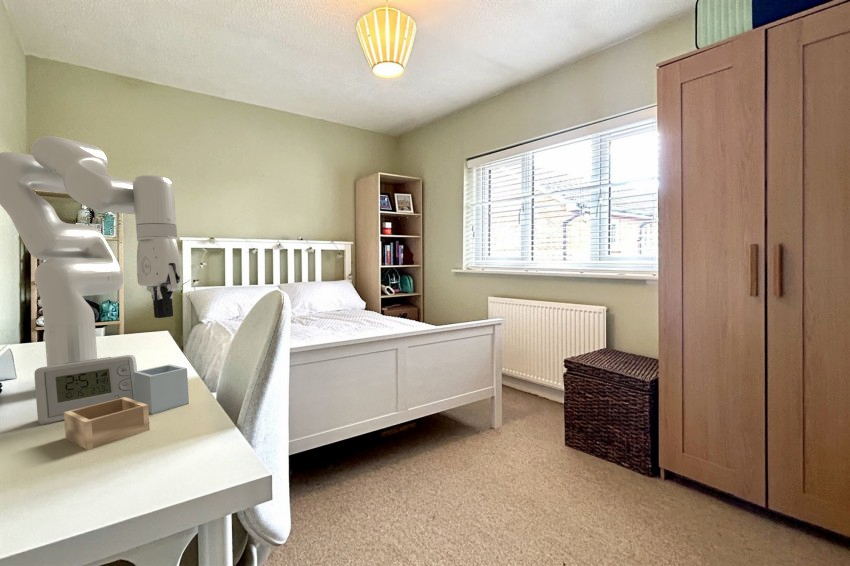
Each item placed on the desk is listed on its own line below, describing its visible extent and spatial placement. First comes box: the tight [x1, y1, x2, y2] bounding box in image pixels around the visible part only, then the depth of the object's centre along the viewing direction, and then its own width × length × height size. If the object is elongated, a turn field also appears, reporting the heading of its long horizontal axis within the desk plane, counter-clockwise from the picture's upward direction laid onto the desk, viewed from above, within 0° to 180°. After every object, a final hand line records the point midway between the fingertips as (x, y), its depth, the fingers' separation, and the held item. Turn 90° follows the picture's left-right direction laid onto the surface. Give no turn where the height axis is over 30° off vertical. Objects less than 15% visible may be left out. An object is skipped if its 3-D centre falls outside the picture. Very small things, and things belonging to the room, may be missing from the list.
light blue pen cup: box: [133, 364, 190, 415], centre depth 86 cm, size 7×7×8 cm
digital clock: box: [34, 354, 138, 425], centre depth 84 cm, size 16×9×11 cm, turn 123°
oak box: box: [63, 397, 151, 451], centre depth 72 cm, size 9×9×5 cm
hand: (164, 317), depth 93 cm, fingers closed
